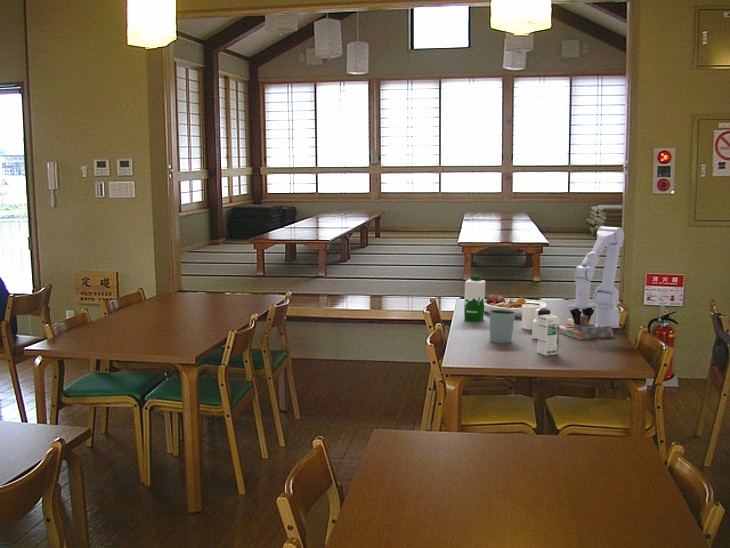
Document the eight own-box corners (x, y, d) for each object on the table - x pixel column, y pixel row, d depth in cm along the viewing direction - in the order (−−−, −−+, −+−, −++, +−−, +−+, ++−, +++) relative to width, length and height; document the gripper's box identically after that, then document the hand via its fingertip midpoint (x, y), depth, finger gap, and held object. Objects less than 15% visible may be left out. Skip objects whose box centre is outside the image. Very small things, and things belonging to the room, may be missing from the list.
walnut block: (581, 328, 346) (581, 314, 345) (587, 330, 342) (587, 316, 341) (573, 328, 344) (574, 315, 343) (579, 330, 341) (580, 316, 340)
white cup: (539, 330, 346) (540, 307, 345) (520, 329, 348) (521, 306, 347) (539, 327, 354) (540, 304, 353) (520, 326, 356) (521, 303, 354)
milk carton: (485, 319, 371) (487, 275, 368) (480, 322, 363) (482, 278, 360) (467, 317, 374) (468, 274, 372) (461, 320, 366) (463, 277, 363)
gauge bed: (569, 323, 362) (570, 313, 361) (613, 336, 336) (613, 325, 336) (538, 326, 355) (539, 316, 355) (580, 339, 329) (581, 328, 329)
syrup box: (545, 355, 300) (547, 317, 298) (536, 352, 306) (538, 314, 304) (558, 354, 302) (560, 316, 301) (548, 351, 308) (550, 313, 306)
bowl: (554, 312, 392) (555, 296, 391) (532, 321, 367) (533, 304, 366) (497, 305, 408) (497, 290, 407) (472, 314, 383) (472, 298, 382)
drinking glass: (483, 339, 328) (484, 310, 326) (504, 337, 332) (506, 308, 330) (497, 344, 318) (498, 314, 317) (519, 342, 322) (520, 312, 321)
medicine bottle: (551, 336, 334) (552, 308, 332) (549, 340, 327) (550, 311, 326) (534, 335, 336) (535, 307, 335) (531, 338, 330) (533, 309, 328)
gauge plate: (592, 332, 343) (592, 322, 343) (602, 335, 338) (603, 325, 337) (564, 334, 338) (564, 325, 337) (574, 337, 332) (575, 328, 331)
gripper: (590, 292, 347) (588, 323, 349) (562, 293, 342) (561, 325, 343) (601, 294, 341) (599, 326, 343) (573, 296, 335) (571, 328, 337)
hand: (581, 326), depth 343 cm, fingers closed on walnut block, 4 cm apart
